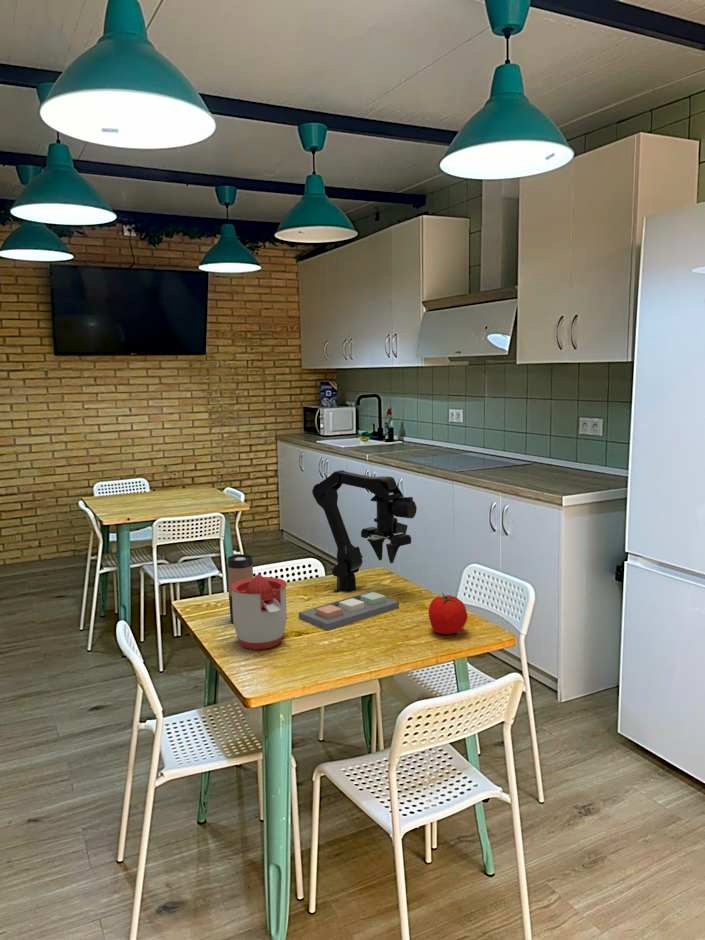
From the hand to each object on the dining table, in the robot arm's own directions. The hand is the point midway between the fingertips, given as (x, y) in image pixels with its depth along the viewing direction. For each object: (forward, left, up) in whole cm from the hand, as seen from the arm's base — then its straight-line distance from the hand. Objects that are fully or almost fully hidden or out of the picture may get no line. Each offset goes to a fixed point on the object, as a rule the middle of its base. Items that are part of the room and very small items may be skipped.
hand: (385, 561), depth 234 cm
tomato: (+34, -8, -13) cm, 37 cm away
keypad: (+4, -20, -13) cm, 24 cm away
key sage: (+5, -10, -11) cm, 16 cm away
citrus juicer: (+4, -52, -13) cm, 54 cm away
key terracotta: (+5, -28, -11) cm, 31 cm away
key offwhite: (+5, -20, -11) cm, 23 cm away
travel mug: (-16, -46, -13) cm, 50 cm away
